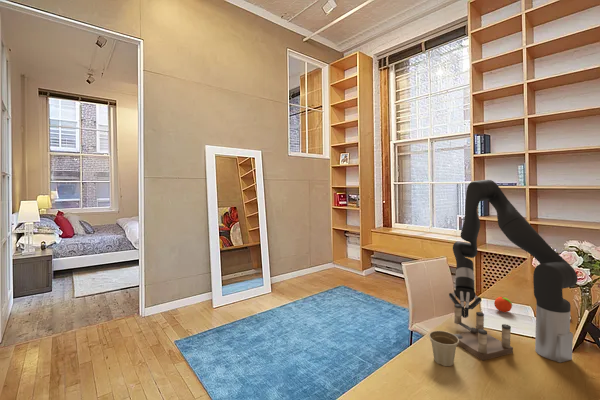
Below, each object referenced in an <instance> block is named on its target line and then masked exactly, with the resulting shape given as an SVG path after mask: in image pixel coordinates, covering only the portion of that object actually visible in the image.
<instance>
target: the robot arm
mask: <svg viewBox="0 0 600 400" xmlns="http://www.w3.org/2000/svg"><path fill="white" fill-rule="evenodd" d="M484 201H487V202H489V204H491V206H492V207H493V208H494V210H495V212H496V216H497V225H498V228H499V229H500V231H502V233H503V234H504V235H505V237H507V239H508V241H510V242H511V243H512V244H514V245H515V246H516V247H518V248H520V249H521V250H523V251H524V252H527V253H528V254H529V255H531V256H532V257H533V258H534V259H535V261H537V262H538V263H539V264H537V265H536V266H535V267H534V270H533V274H532V275H533V282H532V283H533V284H532V285H533V295H534V298H535V300H536V301H535V302H536V304H535V305H536V306H535V307H536V309H535V313H536V314H535V338H534V339H535V342H534V345H535V346H534V351H535V352H536V354H538V355H539V356H541V357H543V358H546V359H548V360H551V361H554V362H558V363H564V362H568V361H572V360H573V346H574V344H573V342H574V341H573V340H574V334H573V332H572V331H571V308H572V307H571V306H572V305H571V302H570V301H569V300H567V299H565V298H564V295H563V294H564V293H563V289H568V288H571V287H574V286H575V285H577V283H578V275H577V272H576V270H575V269H574V268H573V266H572V265H571V264H570V263H568V261H567V260H565V258H564V257H562V256H561V255H560V254H559V253H558V252H556V251H555V249H553V247H551V246H550V245H549V243H547V242H546V240H545V239H544V238H543V237H542V236H541V235H540V234H539V233H538V232H537V231H536V230H535V228H534V227H533V226H532V224H531V223H529V221H527V219H526V218H525V217H524V216H523V215H522V213H520V212H519V211H518V209H517V208H515V206H514V205H513V204H512V203H511V201H510V200H509V199H508V198H507V196H506V195H505V194H504V192H503V190H502V189H501V187H500V186H499V185H498V183H496V182H495V181H493V180H492V179H481V180H474V181H473V180H472V181H471V182H470V183H469V184H468V185H467V187H466V193H465V207H464V209H465V210H464V218H463V223H462V227H461V231H460V238H461V239H462V240H464V241H459V240H457V241H454V243H453V245H452V251H453V256H454V258H455V262H456V267H455V268H456V270H455V271H456V272H455V277H454V278H455V281H454V283H455V286H454V287H455V289H454V291H453V292H452V293H451V292H450V293H448V297H449V298H450V300H451V301H452V302H453V304H454V305H455V304H459V305H461V306H462V316H461V317H462V318H463V319H464V318H465V319H467V318H469V310H474V309H475V307H477V306H478V305H480V303H481V302H482V298H481V297H479V296H478V295H477V294H476V291H475V274H474V271H475V269H474V261H473V260H472V259H474V258H476V256H477V255H478V237H479V232H480V230H481V229H480V228H481V222H480V221H481V220H480V217H479V214H478V208H479V204H480V202H484ZM465 241H466V242H465ZM458 300H459V301H460V302H459V301H458ZM472 301H473V302H472ZM470 303H471V304H470Z"/></svg>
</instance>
